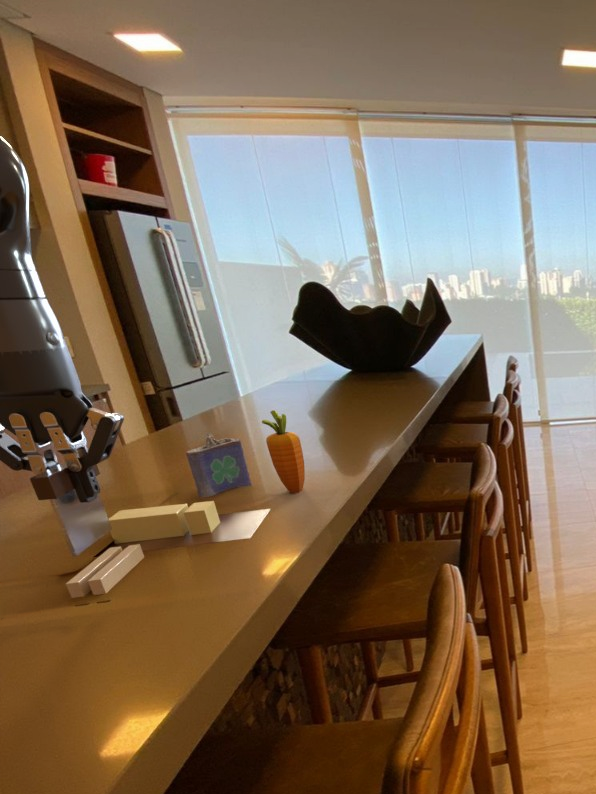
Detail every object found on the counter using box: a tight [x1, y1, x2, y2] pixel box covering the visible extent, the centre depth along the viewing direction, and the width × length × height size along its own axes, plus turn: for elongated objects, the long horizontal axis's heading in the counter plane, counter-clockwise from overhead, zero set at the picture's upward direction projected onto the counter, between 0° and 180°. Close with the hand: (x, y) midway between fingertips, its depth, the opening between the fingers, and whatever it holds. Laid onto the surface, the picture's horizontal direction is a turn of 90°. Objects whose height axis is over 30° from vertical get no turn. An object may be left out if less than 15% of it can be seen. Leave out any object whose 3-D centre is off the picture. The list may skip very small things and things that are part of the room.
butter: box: [108, 503, 189, 544], centre depth 79 cm, size 8×4×4 cm, turn 109°
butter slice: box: [184, 500, 220, 535], centre depth 81 cm, size 2×4×4 cm, turn 19°
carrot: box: [261, 409, 306, 494], centre depth 95 cm, size 5×5×15 cm
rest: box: [65, 544, 145, 607], centre depth 69 cm, size 10×3×3 cm, turn 19°
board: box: [92, 508, 271, 559], centre depth 81 cm, size 18×12×1 cm, turn 109°
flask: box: [185, 433, 253, 498], centre depth 97 cm, size 9×3×11 cm, turn 164°
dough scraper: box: [29, 460, 112, 557], centre depth 65 cm, size 9×2×10 cm, turn 19°
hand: (77, 501), depth 65 cm, fingers closed on dough scraper, 1 cm apart
